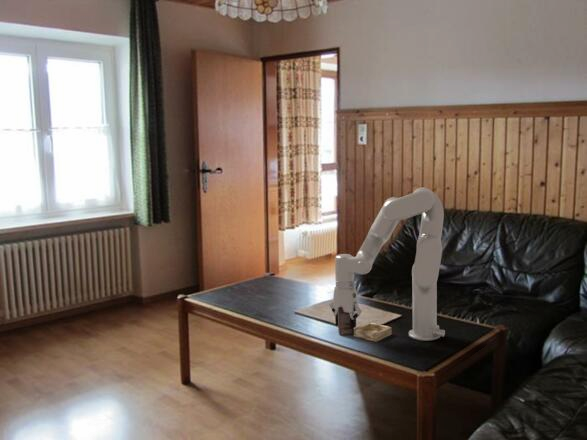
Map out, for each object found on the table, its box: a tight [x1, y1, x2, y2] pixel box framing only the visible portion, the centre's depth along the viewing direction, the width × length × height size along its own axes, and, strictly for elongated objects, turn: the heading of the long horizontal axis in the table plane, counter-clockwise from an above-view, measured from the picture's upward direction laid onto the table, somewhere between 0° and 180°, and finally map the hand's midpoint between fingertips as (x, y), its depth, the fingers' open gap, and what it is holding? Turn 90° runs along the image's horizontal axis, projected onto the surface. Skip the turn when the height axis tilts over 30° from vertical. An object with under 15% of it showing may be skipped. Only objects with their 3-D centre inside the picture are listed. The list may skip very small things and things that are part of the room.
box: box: [337, 306, 355, 336], centre depth 250 cm, size 6×4×12 cm
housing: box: [353, 321, 393, 343], centre depth 248 cm, size 11×11×3 cm
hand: (345, 325), depth 251 cm, fingers closed on box, 6 cm apart
